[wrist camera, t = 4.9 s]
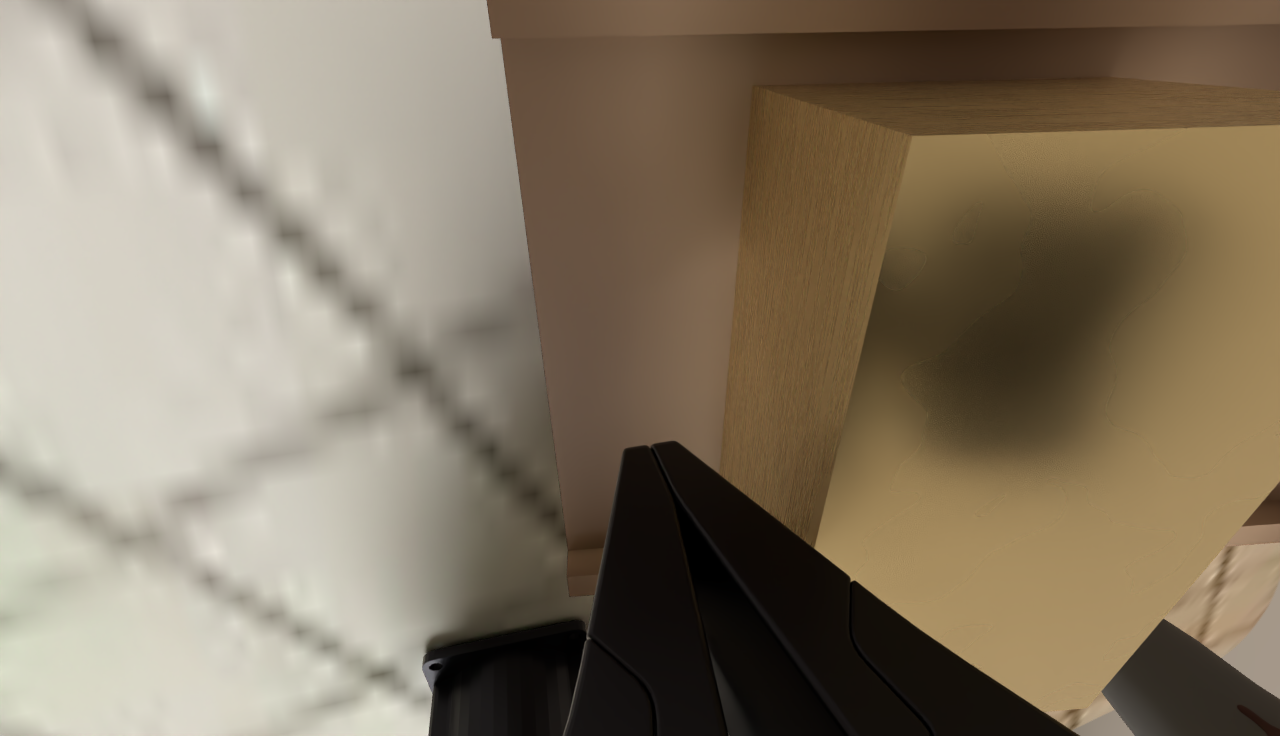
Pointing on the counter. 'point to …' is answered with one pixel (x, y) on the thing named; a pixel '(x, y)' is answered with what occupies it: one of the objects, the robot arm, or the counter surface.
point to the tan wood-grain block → (1011, 351)
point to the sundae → (1188, 691)
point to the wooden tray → (715, 171)
